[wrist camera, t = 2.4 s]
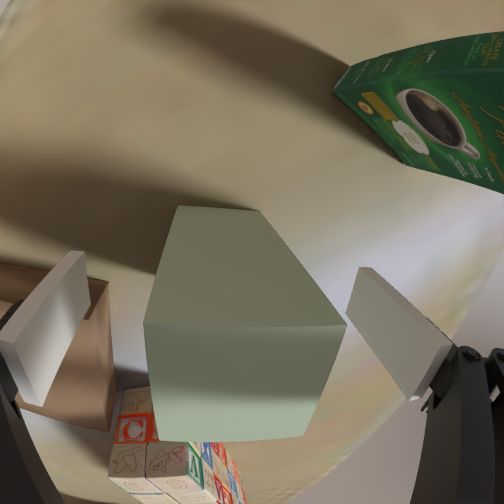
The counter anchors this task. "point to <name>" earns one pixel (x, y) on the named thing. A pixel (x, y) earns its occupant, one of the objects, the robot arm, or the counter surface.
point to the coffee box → (437, 105)
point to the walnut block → (73, 355)
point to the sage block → (235, 331)
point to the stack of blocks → (168, 461)
